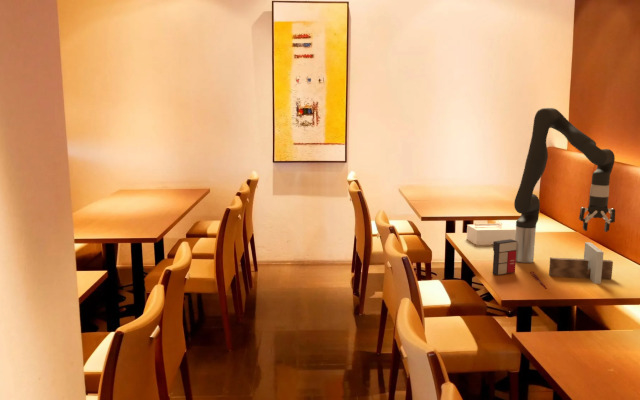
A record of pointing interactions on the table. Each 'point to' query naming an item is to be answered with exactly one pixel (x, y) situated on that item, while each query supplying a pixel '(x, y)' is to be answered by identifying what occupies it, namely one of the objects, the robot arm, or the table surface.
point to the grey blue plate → (594, 261)
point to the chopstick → (537, 279)
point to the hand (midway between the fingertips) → (595, 231)
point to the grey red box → (504, 256)
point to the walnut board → (577, 268)
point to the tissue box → (490, 233)
